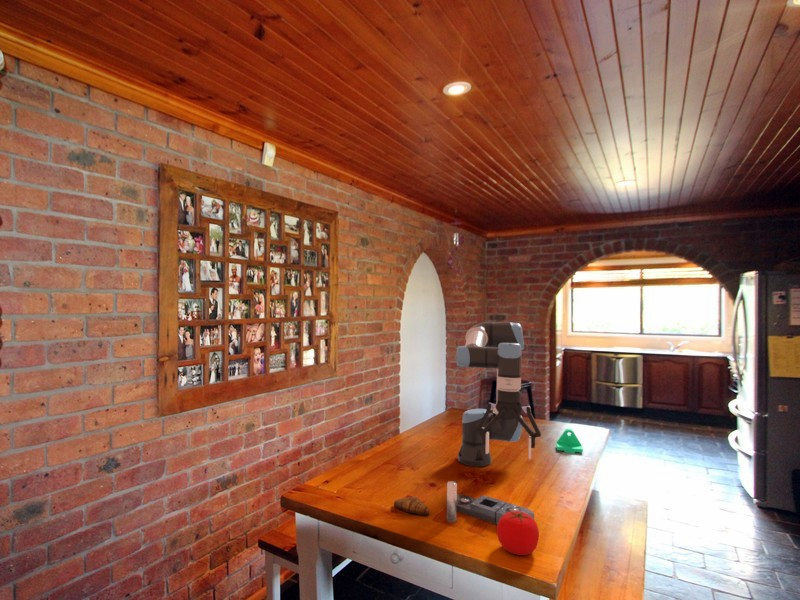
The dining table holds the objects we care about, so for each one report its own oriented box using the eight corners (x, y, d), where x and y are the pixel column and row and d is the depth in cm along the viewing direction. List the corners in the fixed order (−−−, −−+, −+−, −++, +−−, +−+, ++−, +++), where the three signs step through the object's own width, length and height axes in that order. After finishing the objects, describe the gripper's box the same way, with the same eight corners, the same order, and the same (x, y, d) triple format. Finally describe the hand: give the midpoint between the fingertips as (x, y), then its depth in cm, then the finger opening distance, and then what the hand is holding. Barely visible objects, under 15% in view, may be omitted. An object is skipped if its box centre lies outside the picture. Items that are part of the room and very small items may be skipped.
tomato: (521, 566, 116) (521, 527, 116) (488, 546, 126) (489, 510, 126) (547, 552, 123) (548, 516, 123) (515, 535, 133) (515, 500, 133)
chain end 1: (442, 506, 151) (442, 498, 151) (455, 497, 158) (455, 490, 158) (495, 524, 139) (495, 516, 139) (506, 514, 146) (506, 506, 146)
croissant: (433, 512, 147) (433, 497, 147) (424, 520, 141) (425, 504, 141) (399, 502, 154) (399, 488, 154) (389, 510, 148) (389, 495, 148)
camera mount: (556, 451, 213) (557, 431, 213) (556, 447, 220) (556, 427, 220) (582, 455, 209) (583, 433, 209) (581, 450, 216) (581, 429, 217)
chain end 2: (470, 515, 144) (470, 502, 144) (482, 506, 151) (482, 493, 152) (528, 535, 132) (528, 520, 132) (538, 524, 139) (538, 510, 140)
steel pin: (444, 520, 141) (445, 483, 141) (449, 516, 144) (450, 480, 144) (453, 523, 139) (453, 486, 139) (458, 519, 142) (458, 483, 142)
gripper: (469, 388, 142) (468, 453, 141) (549, 394, 134) (548, 463, 133) (473, 385, 149) (471, 447, 148) (548, 391, 141) (548, 456, 140)
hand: (508, 455), depth 140 cm, fingers open, 13 cm apart
